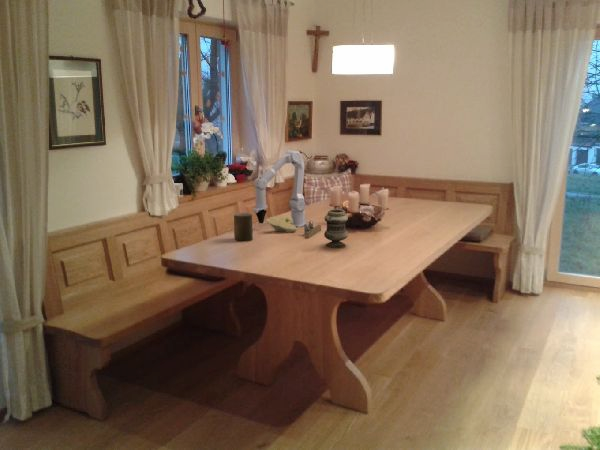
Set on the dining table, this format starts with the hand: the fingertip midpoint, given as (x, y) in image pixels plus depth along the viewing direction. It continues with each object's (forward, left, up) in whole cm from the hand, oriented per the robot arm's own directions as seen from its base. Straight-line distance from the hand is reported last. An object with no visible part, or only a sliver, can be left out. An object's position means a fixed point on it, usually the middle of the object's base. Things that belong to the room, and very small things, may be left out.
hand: (261, 223), depth 325 cm
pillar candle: (+24, +1, -4) cm, 24 cm away
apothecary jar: (+19, +51, -4) cm, 55 cm away
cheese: (+1, +13, -4) cm, 14 cm away
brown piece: (0, +30, -4) cm, 31 cm away
